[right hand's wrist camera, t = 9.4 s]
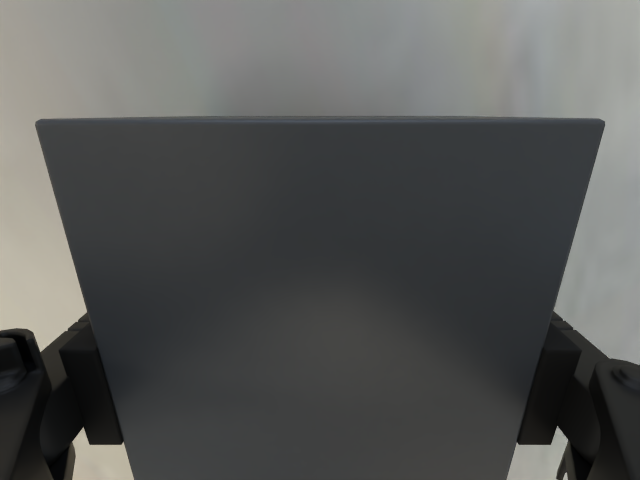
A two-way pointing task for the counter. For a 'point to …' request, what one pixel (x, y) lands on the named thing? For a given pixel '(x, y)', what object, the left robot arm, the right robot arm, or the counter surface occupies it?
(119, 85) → the counter surface
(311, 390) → the wide beam
